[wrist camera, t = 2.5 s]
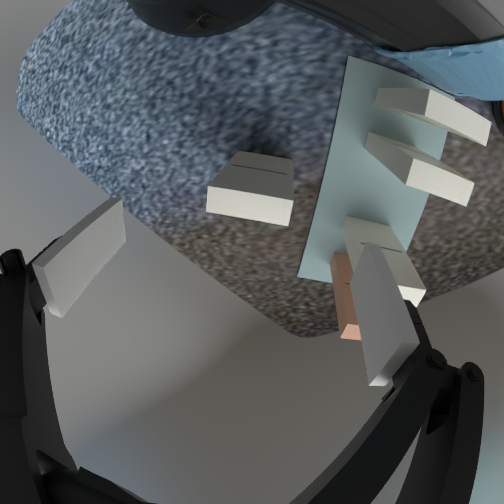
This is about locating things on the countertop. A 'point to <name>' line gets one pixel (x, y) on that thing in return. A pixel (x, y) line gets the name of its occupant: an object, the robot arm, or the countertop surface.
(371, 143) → the domino
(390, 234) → the domino
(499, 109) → the canister
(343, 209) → the mat
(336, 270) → the end domino
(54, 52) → the countertop surface
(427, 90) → the domino
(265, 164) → the domino
